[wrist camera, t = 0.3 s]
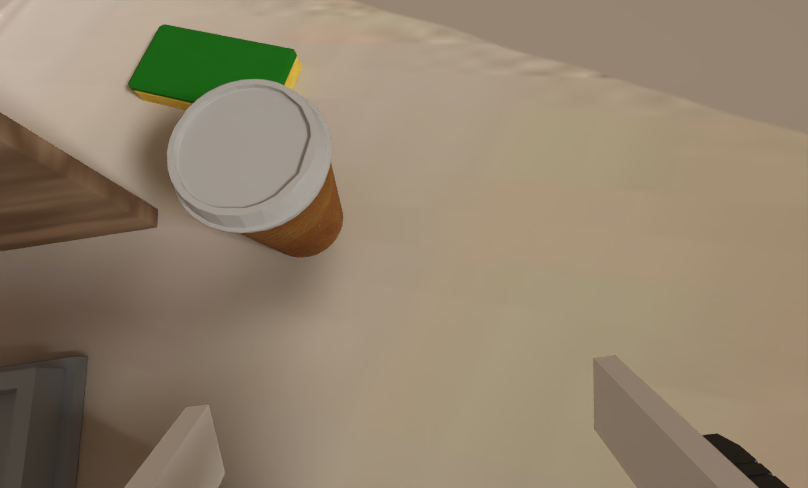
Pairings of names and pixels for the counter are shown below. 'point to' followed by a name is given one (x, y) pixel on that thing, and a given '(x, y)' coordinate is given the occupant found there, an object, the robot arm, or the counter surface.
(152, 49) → the dish sponge
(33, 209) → the brown l-shaped bracket
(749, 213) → the counter surface
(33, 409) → the socket
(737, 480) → the robot arm
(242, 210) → the disposable coffee cup
